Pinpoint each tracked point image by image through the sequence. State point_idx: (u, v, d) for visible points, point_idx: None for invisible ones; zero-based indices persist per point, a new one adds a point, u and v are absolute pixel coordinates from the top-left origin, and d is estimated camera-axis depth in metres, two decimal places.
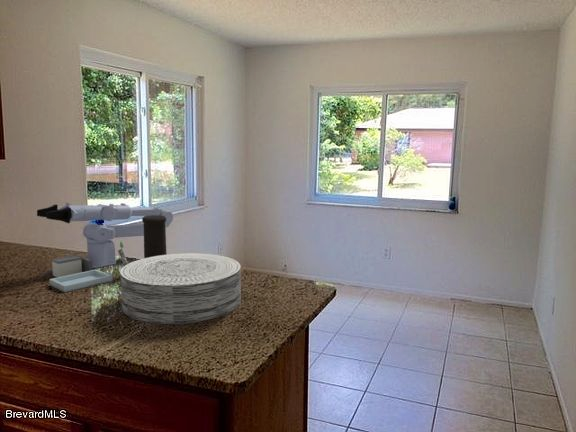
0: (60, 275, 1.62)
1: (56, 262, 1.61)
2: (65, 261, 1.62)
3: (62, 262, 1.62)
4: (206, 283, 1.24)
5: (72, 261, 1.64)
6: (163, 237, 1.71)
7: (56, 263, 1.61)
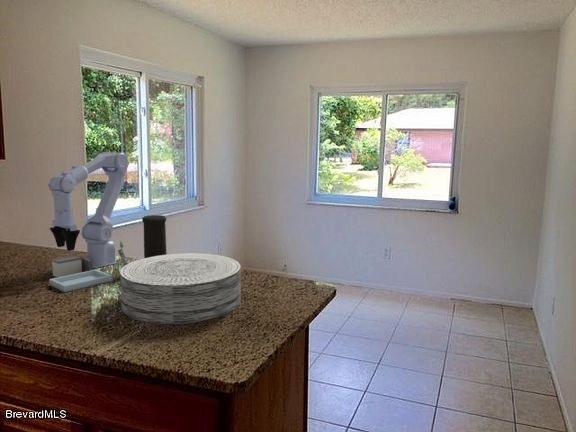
0: (60, 275, 1.62)
1: (56, 262, 1.61)
2: (65, 261, 1.62)
3: (62, 262, 1.62)
4: (206, 283, 1.24)
5: (72, 261, 1.64)
6: (163, 237, 1.71)
7: (56, 263, 1.61)
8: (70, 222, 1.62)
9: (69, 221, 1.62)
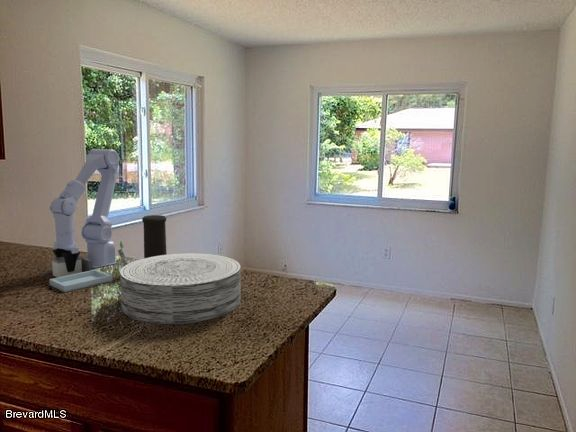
0: (60, 275, 1.61)
1: (56, 262, 1.61)
2: None
3: (62, 262, 1.61)
4: (206, 283, 1.24)
5: None
6: (163, 237, 1.71)
7: (56, 262, 1.61)
8: (71, 244, 1.63)
9: (71, 243, 1.63)
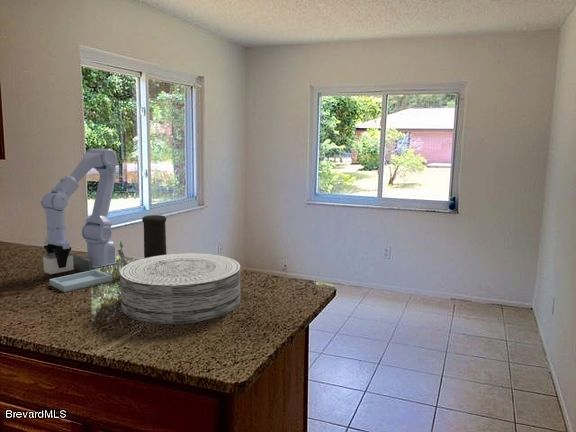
0: (51, 271, 1.59)
1: (47, 257, 1.59)
2: None
3: (53, 257, 1.59)
4: (206, 283, 1.24)
5: None
6: (163, 237, 1.71)
7: (47, 258, 1.59)
8: (63, 240, 1.61)
9: (62, 239, 1.60)
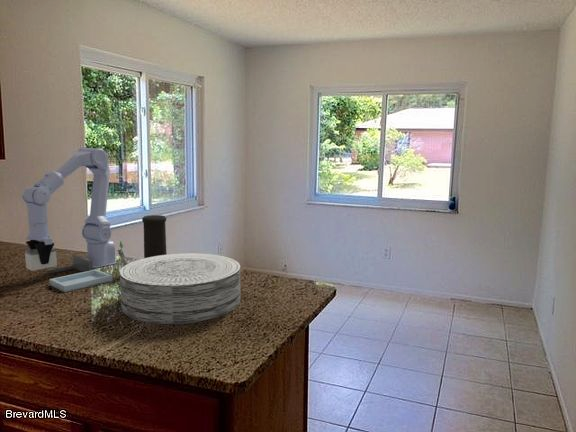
0: (33, 267, 1.54)
1: (29, 254, 1.54)
2: None
3: (35, 254, 1.54)
4: (206, 283, 1.24)
5: None
6: (163, 237, 1.71)
7: (29, 254, 1.54)
8: (45, 235, 1.56)
9: (44, 234, 1.56)
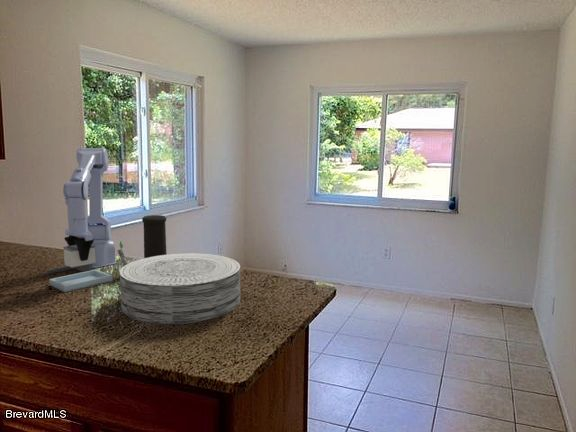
0: (72, 264, 1.51)
1: (68, 250, 1.50)
2: None
3: (75, 250, 1.51)
4: (205, 283, 1.24)
5: None
6: (163, 237, 1.71)
7: (68, 250, 1.51)
8: (85, 231, 1.52)
9: (84, 230, 1.52)
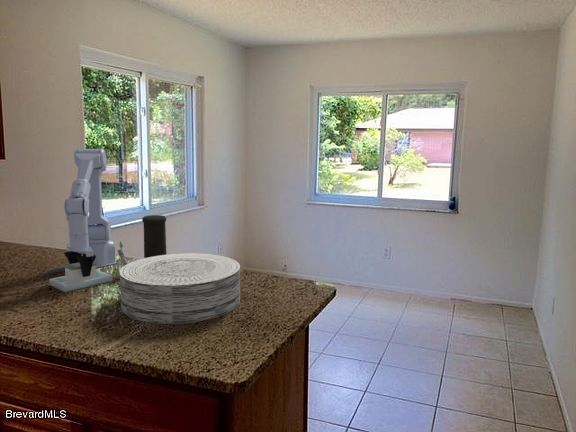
0: (74, 282, 1.52)
1: (69, 268, 1.51)
2: (79, 267, 1.52)
3: (76, 268, 1.52)
4: (205, 283, 1.24)
5: None
6: (163, 237, 1.71)
7: (70, 269, 1.52)
8: (86, 247, 1.53)
9: (85, 246, 1.53)
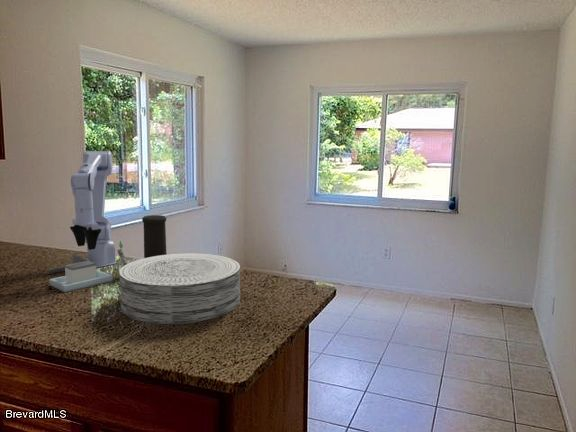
0: (74, 282, 1.52)
1: (69, 268, 1.51)
2: (79, 267, 1.52)
3: (76, 268, 1.52)
4: (205, 283, 1.24)
5: (86, 267, 1.54)
6: (163, 237, 1.71)
7: (70, 269, 1.52)
8: (91, 221, 1.59)
9: (90, 220, 1.59)
